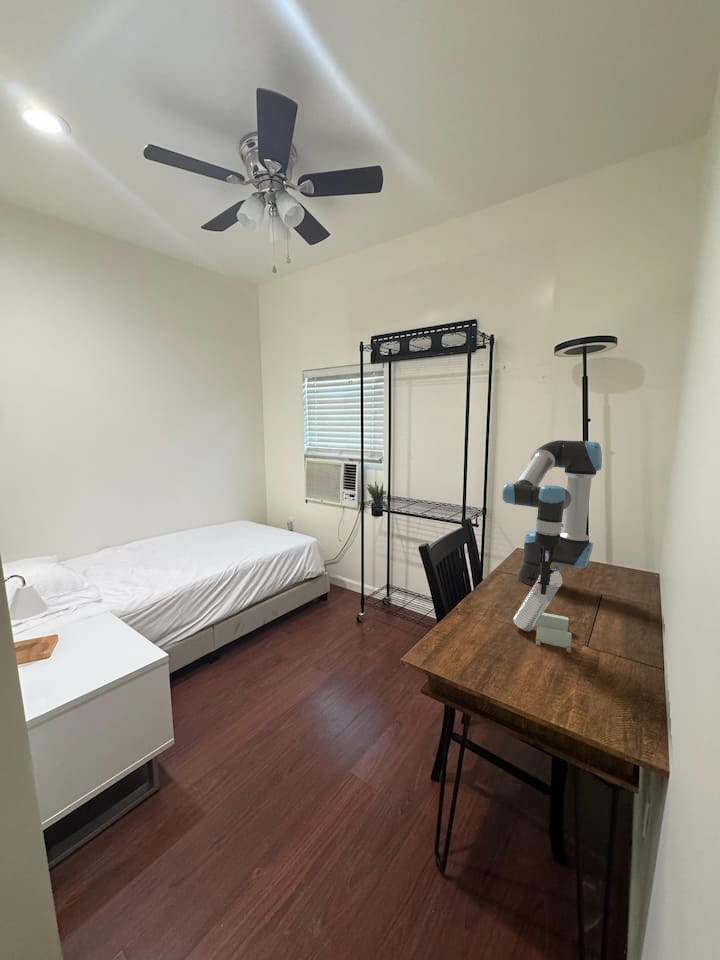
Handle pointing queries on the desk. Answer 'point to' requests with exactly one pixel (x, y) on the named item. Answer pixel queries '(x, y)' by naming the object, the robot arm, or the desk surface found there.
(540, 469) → the robot arm
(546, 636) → the u rest
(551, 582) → the water bottle
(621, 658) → the desk surface
